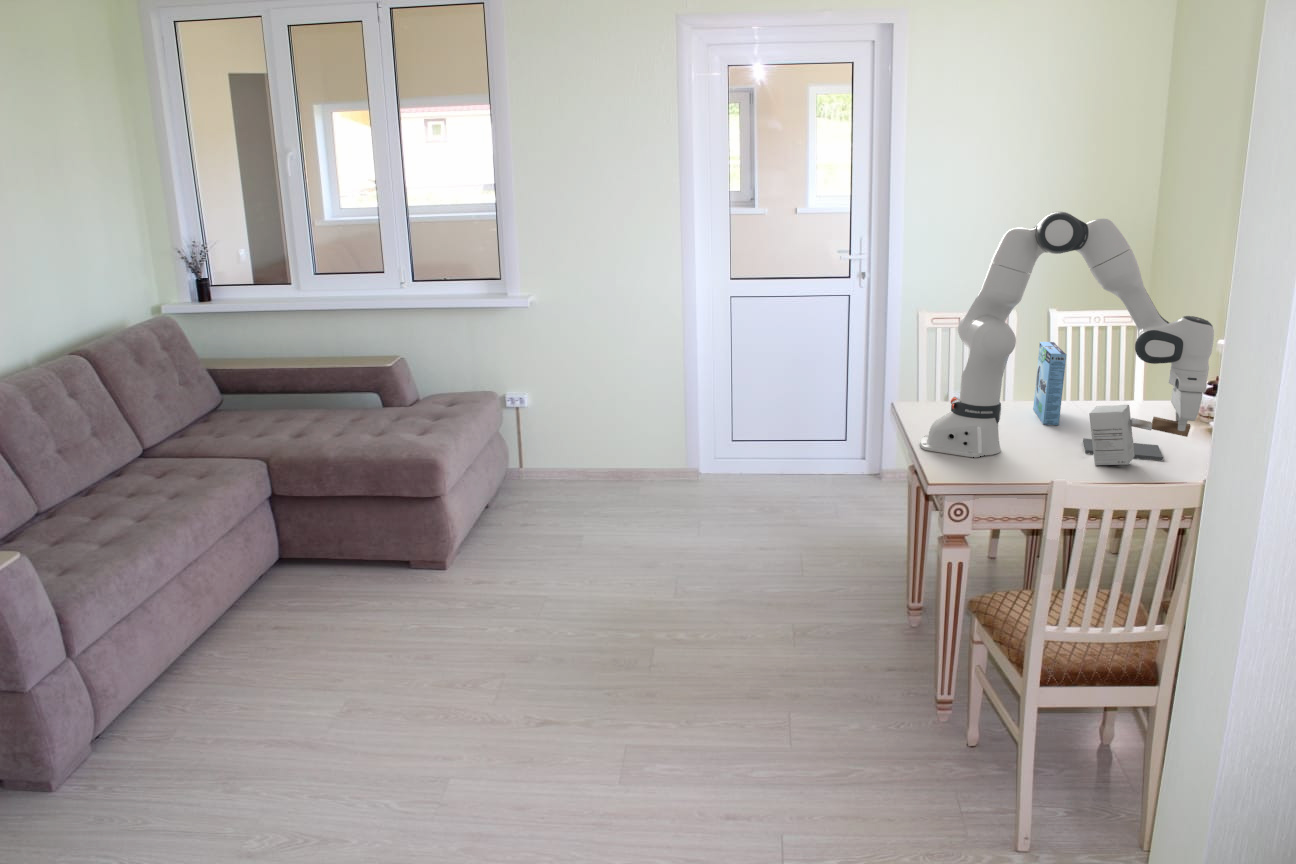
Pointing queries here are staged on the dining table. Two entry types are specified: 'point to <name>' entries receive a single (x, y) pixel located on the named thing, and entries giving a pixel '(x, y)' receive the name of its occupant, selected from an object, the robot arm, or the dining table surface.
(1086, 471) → the dining table surface
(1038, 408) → the gum box
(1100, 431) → the supplement box
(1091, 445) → the tool mat
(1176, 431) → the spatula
